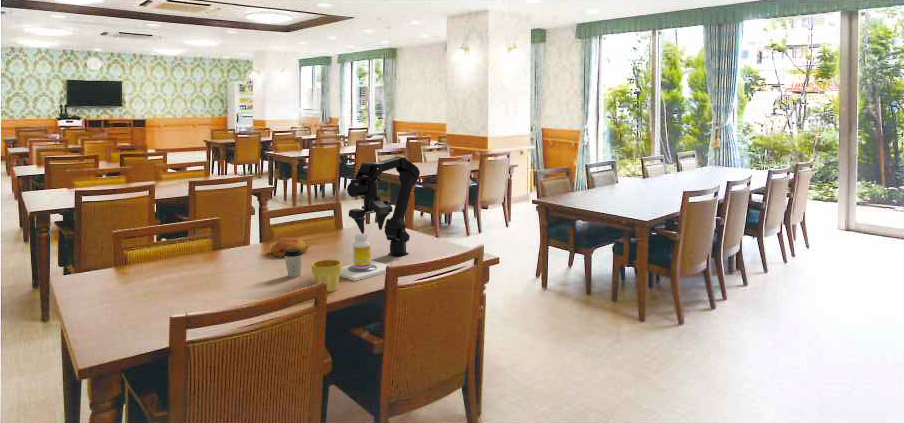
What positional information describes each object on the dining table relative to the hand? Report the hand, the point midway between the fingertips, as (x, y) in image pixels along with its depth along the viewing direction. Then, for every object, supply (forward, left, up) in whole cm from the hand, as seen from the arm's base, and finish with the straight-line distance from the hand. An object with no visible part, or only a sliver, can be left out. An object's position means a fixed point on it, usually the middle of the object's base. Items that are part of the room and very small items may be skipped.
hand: (371, 231), depth 255 cm
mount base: (+11, +7, -13) cm, 18 cm away
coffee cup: (+32, -8, -13) cm, 36 cm away
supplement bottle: (+11, +7, -12) cm, 17 cm away
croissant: (+14, -40, -13) cm, 45 cm away
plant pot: (+34, +16, -13) cm, 40 cm away
